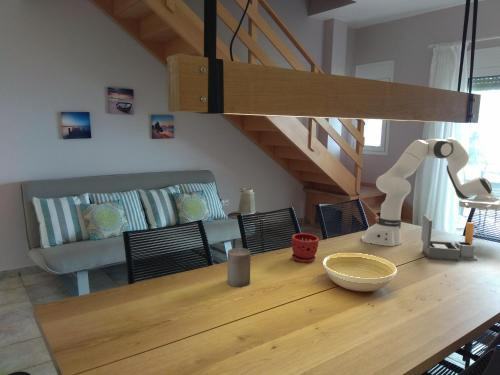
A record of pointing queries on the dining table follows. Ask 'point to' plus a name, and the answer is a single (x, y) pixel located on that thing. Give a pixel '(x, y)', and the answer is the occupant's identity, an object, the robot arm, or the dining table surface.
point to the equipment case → (437, 245)
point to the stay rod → (469, 232)
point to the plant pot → (304, 247)
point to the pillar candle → (239, 267)
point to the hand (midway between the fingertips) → (476, 207)
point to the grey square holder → (466, 250)
